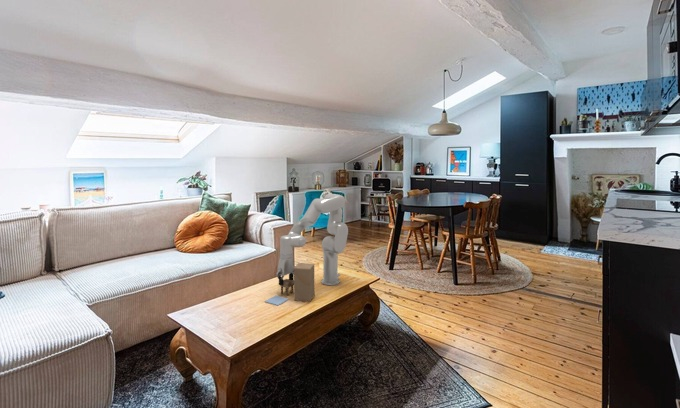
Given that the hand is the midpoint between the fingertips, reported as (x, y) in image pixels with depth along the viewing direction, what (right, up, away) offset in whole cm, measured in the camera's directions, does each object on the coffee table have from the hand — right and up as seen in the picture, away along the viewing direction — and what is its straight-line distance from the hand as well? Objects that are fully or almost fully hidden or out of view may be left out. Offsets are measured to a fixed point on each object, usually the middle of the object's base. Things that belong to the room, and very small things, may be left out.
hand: (286, 282), depth 214 cm
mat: (-4, -8, -10) cm, 14 cm away
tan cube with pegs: (0, -7, +1) cm, 7 cm away
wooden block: (+12, -8, -5) cm, 15 cm away
